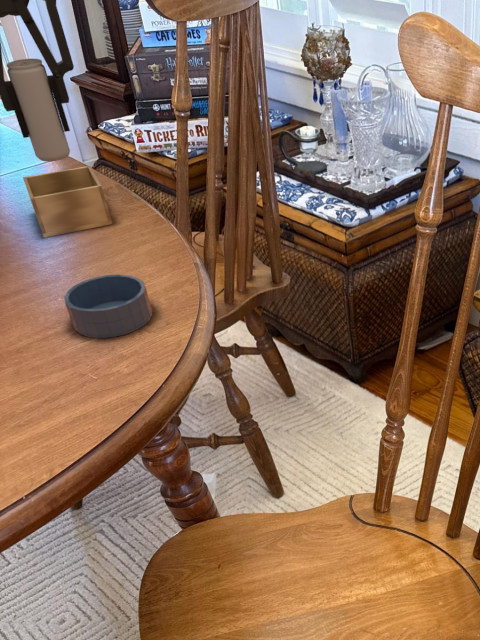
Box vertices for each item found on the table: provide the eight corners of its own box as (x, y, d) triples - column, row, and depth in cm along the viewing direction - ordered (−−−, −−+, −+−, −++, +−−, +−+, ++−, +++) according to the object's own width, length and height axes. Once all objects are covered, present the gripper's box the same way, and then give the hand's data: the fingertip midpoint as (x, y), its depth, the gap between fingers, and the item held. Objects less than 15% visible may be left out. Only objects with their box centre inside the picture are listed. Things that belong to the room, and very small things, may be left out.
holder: (43, 237, 115) (30, 198, 111) (35, 214, 121) (22, 177, 117) (112, 224, 117) (101, 185, 114) (101, 202, 124) (90, 165, 120)
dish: (77, 344, 91) (68, 317, 89) (70, 310, 98) (61, 283, 95) (158, 327, 94) (150, 300, 91) (145, 294, 100) (138, 268, 98)
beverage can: (34, 163, 111) (1, 68, 103) (40, 153, 115) (9, 59, 106) (68, 160, 112) (39, 65, 103) (73, 150, 115) (45, 57, 107)
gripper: (-102, -65, 90) (-21, 149, 106) (58, -79, 95) (113, 129, 111) (-99, -72, 95) (-21, 134, 111) (53, -84, 100) (107, 115, 116)
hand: (46, 131), depth 111 cm, fingers closed on beverage can, 5 cm apart
